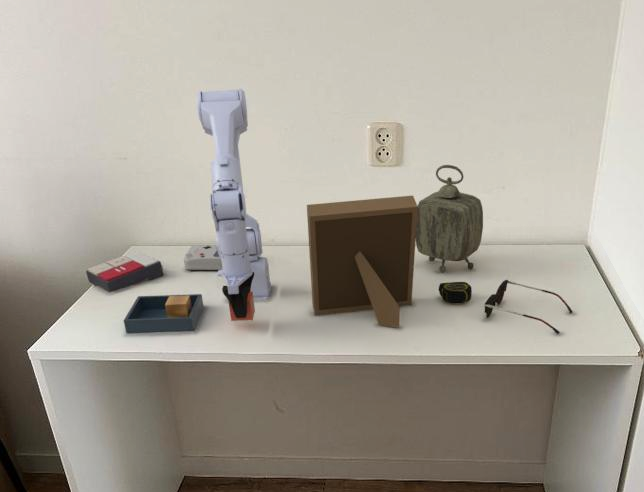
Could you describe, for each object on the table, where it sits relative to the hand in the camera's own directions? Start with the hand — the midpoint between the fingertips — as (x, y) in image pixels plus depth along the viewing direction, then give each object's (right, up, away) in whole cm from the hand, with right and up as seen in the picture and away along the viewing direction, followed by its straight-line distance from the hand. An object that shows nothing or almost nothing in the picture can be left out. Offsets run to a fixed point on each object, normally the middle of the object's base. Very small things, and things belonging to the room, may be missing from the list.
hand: (242, 312), depth 155 cm
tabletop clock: (+46, +14, +26) cm, 55 cm away
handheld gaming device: (-12, +17, +33) cm, 39 cm away
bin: (-18, -1, +7) cm, 19 cm away
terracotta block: (0, -1, +1) cm, 1 cm away
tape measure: (+46, +4, +11) cm, 47 cm away
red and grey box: (-33, +12, +28) cm, 45 cm away
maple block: (-15, -1, +6) cm, 16 cm away
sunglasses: (+61, -1, +2) cm, 61 cm away
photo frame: (+26, 0, +5) cm, 27 cm away
